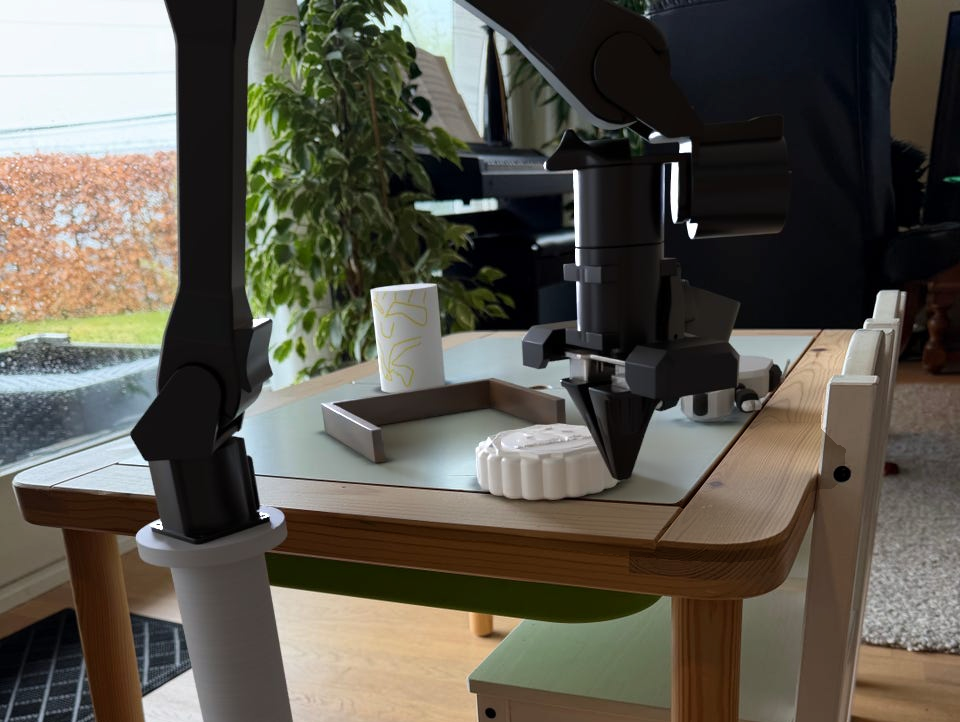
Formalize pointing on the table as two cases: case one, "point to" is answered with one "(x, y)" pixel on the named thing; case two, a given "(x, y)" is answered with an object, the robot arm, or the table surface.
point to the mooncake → (542, 463)
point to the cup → (408, 337)
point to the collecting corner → (433, 410)
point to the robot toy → (733, 392)
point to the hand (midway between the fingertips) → (621, 478)
